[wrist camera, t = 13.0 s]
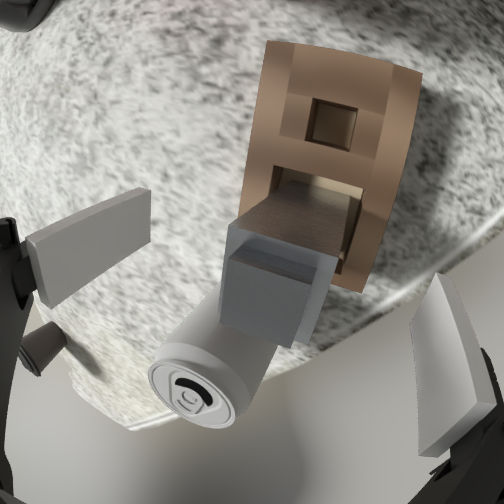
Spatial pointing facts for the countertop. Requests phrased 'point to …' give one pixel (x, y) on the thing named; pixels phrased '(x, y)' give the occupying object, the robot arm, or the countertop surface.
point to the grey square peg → (282, 262)
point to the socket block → (333, 139)
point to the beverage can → (209, 367)
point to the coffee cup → (41, 347)
